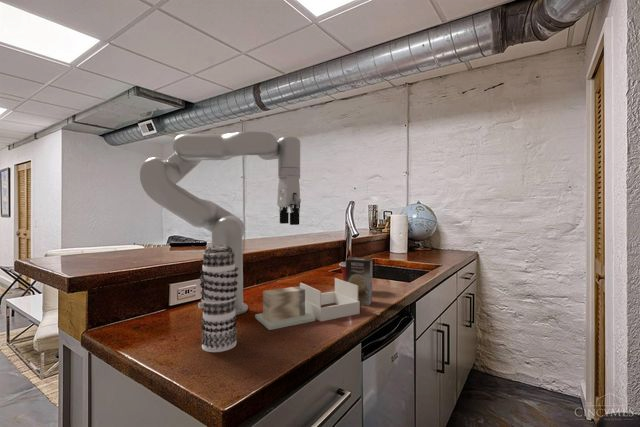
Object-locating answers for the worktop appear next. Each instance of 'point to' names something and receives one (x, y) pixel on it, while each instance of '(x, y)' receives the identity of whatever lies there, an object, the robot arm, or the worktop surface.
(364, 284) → the coffee box
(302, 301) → the birch box
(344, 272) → the plastic cup
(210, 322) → the decorative candle
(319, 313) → the carton
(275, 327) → the sage board
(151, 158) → the robot arm
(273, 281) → the worktop surface
